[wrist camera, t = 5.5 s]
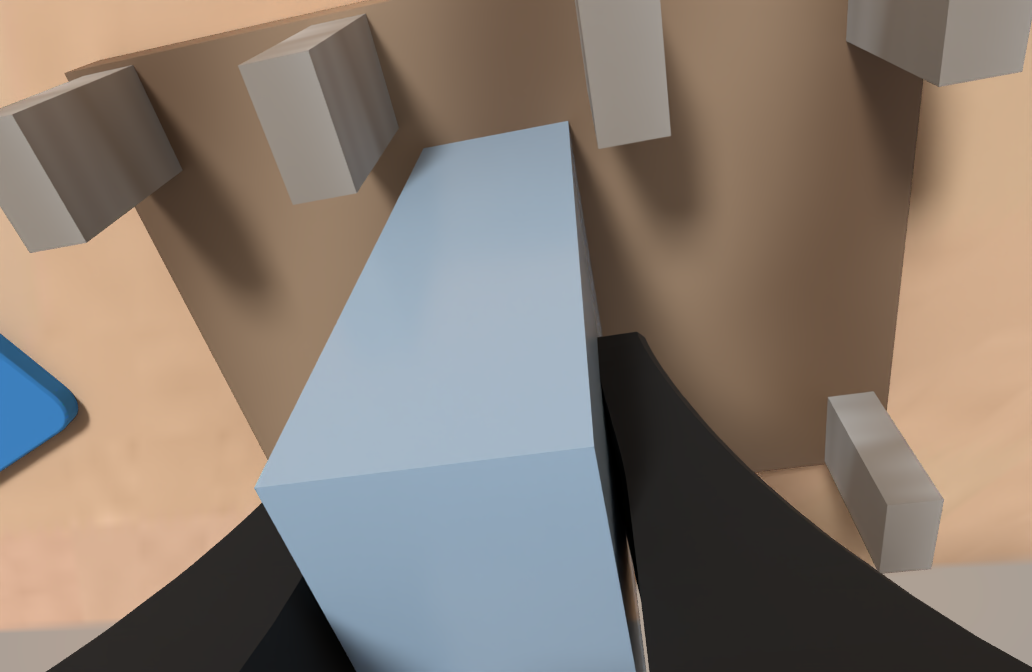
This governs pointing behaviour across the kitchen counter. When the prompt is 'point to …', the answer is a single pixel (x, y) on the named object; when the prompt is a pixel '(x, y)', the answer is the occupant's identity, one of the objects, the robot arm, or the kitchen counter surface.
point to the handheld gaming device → (29, 404)
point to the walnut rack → (601, 179)
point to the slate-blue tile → (465, 433)
